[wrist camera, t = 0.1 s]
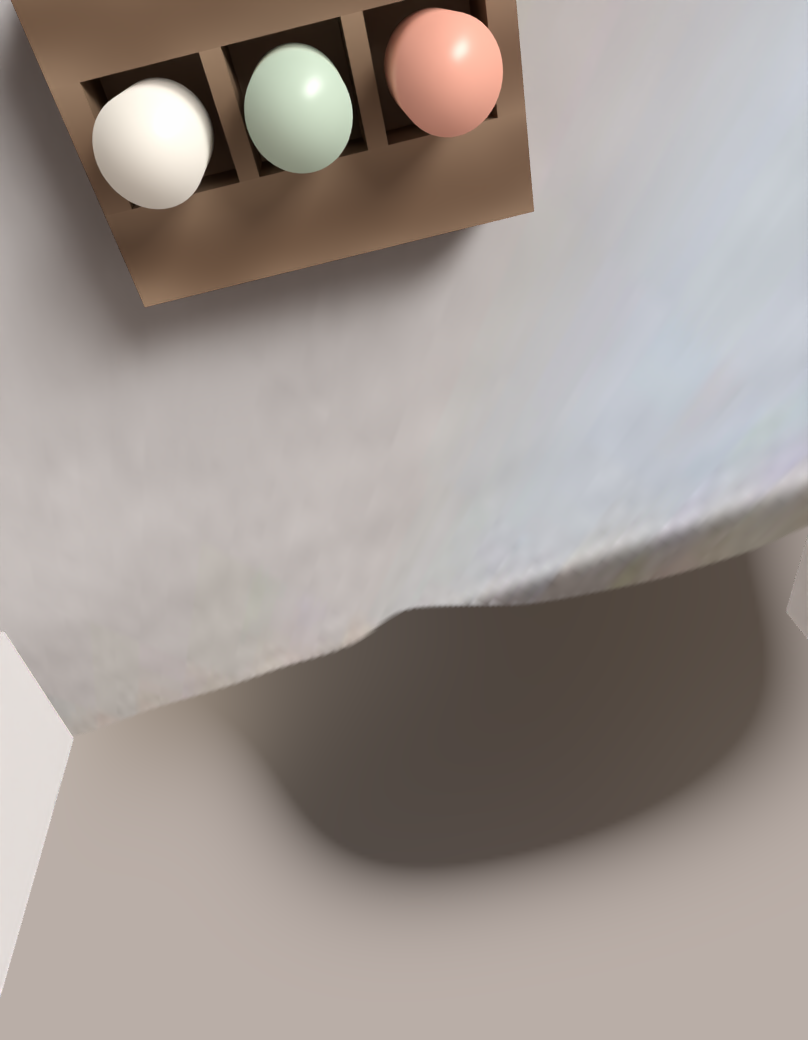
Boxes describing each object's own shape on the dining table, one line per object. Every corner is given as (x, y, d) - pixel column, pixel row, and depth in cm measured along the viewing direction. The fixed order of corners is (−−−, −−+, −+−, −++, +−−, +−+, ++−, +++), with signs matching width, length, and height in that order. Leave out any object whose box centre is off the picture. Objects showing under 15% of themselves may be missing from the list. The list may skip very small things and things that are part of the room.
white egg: (98, 90, 26) (72, 105, 23) (193, 66, 26) (180, 78, 23) (139, 193, 29) (121, 220, 26) (227, 171, 29) (219, 195, 25)
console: (35, -40, 28) (-8, -42, 24) (470, -152, 27) (501, -174, 23) (161, 269, 35) (144, 307, 31) (505, 184, 35) (533, 211, 31)
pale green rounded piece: (235, 55, 26) (228, 66, 23) (331, 31, 26) (337, 38, 23) (266, 161, 29) (263, 184, 25) (355, 139, 29) (363, 159, 25)
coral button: (374, 20, 26) (386, 26, 23) (471, -4, 26) (496, -2, 23) (394, 129, 28) (408, 148, 25) (483, 107, 28) (508, 123, 25)
